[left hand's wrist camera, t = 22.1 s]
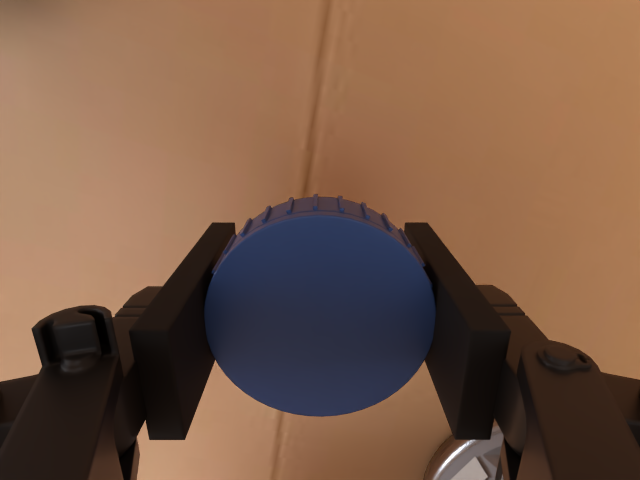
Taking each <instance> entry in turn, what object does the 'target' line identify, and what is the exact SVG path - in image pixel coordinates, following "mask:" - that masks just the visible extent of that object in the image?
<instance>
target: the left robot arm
mask: <svg viewBox="0 0 640 480" xmlns="http://www.w3.org/2000/svg"><path fill="white" fill-rule="evenodd" d="M404 233H405V235H406V237H407V238H408V240H409V242H410V244H411V245H412V246H414V247H415V249H416V250H417V252H418V254H419V256H420V257H421V259H422V261H423V262H424V264H425V266H424V267H423V268H424V270H425V272H426V274H427V275H428V277H429V279H430V281H431V283H432V285H433V287H432V290H433V294H434V297H435V305H436V316H435V326H434V334H433V340H432V344H431V347H430V350H429V352H428V354H427V356H426V358H425V362H426V365H427V368H428V370H429V373H430V376H431V378H432V381H433V383H434V386H435V389H436V391H437V394H438V397H439V399H440V402H441V404H442V407H443V410H444V412H445V415H446V418H447V420H448V423H449V426H450V428H451V431H452V433H453V435H452V436H450V437H449V438H448V439H447V440H446V441H445V442H444V443H443V444H442V445H441V446H440V448H439V449H438V450H437V451H436V453H435V454H434V456H433V457H432V459H431V461H430V463H429V465H428V467H427V469H426V472H425V475H424V480H640V380H637V379H632V378H627V377H622V376H617V375H612V374H607V373H603V372H601V371H600V369H599V368H598V366H597V365H596V363H595V362H594V361H593V360H592V359H591V357H589V356H588V355H586V354H585V353H583V352H582V351H580V350H579V349H576V348H574V347H572V346H569V345H567V344H564V343H560V342H556V341H552V340H548V339H547V337H546V336H545V335H544V334H543V333H542V332H541V331H540V330H539V329H538V327H537V326H536V325H535V324H534V323H533V322H532V321H531V320H530V318H529V317H528V316H525V313H524V312H523V311H522V310H521V308H520V307H517V304H516V303H515V302H514V301H513V299H512V298H511V297H510V296H509V295H508V294H507V293H505V292H503V291H501V290H500V289H498V288H496V287H495V286H493V285H475V283H474V282H473V281H472V280H471V278H470V277H469V276H468V274H467V273H466V272H465V271H464V269H463V268H462V267H461V265H460V264H459V263H458V262H457V260H456V259H455V258H454V256H453V255H452V254H451V253H450V251H449V250H448V249H447V247H446V246H445V245H444V244H443V242H442V241H441V240H440V238H439V237H438V236H437V235H436V233H435V232H434V231H433V229H432V228H431V227H430V226H429V224H428V223H405V229H404ZM234 234H235V235H236V233H235V223H212V224H211V225H210V226H209V228H208V229H207V230H206V232H205V233H204V234H203V235H202V237H201V238H200V239H199V241H198V242H197V243H196V244H195V246H194V247H193V248H192V250H191V251H190V252H189V253H188V255H187V256H186V257H185V259H184V260H183V261H182V263H181V264H180V265H179V266H178V268H177V269H176V270H175V272H174V273H173V274H172V275H171V277H170V278H169V279H168V281H167V282H166V283H165V284H164V286H148V287H146V288H144V289H143V290H141V291H139V292H137V293H136V294H134V295H132V296H131V298H130V299H129V300H128V301H127V302H126V303H125V304H124V305H123V308H121V309H120V310H119V311H118V312H117V313H116V314H115V317H113V318H112V315H111V311H110V310H108V309H107V308H105V307H101V306H96V305H87V306H77V307H73V308H68V309H64V310H61V311H59V312H56V313H53V314H51V315H49V316H47V317H46V318H44V319H42V320H40V321H39V322H38V323H37V324H36V325H35V326H34V327H33V328H32V332H33V336H34V339H35V342H36V346H37V349H38V353H39V356H40V360H41V363H42V368H41V370H40V372H39V374H37V375H33V376H28V377H23V378H17V379H12V380H7V381H2V382H0V480H137V473H138V465H139V457H140V453H139V446H138V441H137V435H138V433H139V431H140V429H141V427H142V425H143V423H144V422H145V420H146V425H147V430H148V435H149V440H185V438H186V435H187V433H188V430H189V428H190V425H191V422H192V420H193V417H194V414H195V412H196V409H197V406H198V404H199V401H200V399H201V396H202V393H203V391H204V388H205V385H206V383H207V380H208V377H209V375H210V372H211V370H212V367H213V364H214V362H215V358H214V356H213V354H212V352H211V349H210V346H209V344H208V341H207V336H206V329H205V319H204V305H205V298H206V294H207V290H208V287H209V284H210V282H211V280H212V277H213V275H214V274H212V270H213V269H214V267H215V265H216V263H217V262H218V260H219V258H220V256H221V255H222V253H223V251H224V250H225V248H226V246H227V245H228V243H229V241H230V239H231V238H232V236H233V235H234ZM412 246H411V247H412Z"/></svg>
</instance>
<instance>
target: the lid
mask: <svg viewBox="0 0 640 480" xmlns="http://www.w3.org/2000/svg"><path fill="white" fill-rule="evenodd" d="M411 246H412V245H411V244H410V242H409V240H408V238H407V237H406V235H405V233H404V231H403V230H402V229H401V228H400V229H399V230H398V229H397V228H396V227H395V226H394V225H393V224H392V223H391V222H389V220H388V218H387V216H386V215H385V214H384V213H383V214H382V215H380V214H378V213H377V212H375V211H374V210H372V209H370V208H368V207H367V206H366V203H363V202H362V203H361V204H358V203H355V202H352V201H348V200H344V199H343V198H342V196H338V198H333V197H318V194H314V196H313V197H309V198H301V199H296V200H294V198H293V197H292V198H289V201H288V202H285V203H282V204H279V205H277V206H274V207H272V208H271V206H268V207H267V208H266V210H265V212H263V213H261V214H260V215H258V216H257V217H256V218H254V219H253V220H252V219H251V218H249V219H248V220H247V222H246V224H245V226H244V228H243V229H242V230H241V231H240V232H239V234H238V235H237V236H236V235H235V234H234V235H233V236H232V238H231V239H230V241H229V243H228V245H227V246H226V248H225V250H224V251H223V253H222V255H221V256H220V258H219V260H218V262H217V263H216V265H215V267H214V269H213V270H212V274H214V275H213V277H212V280H211V282H210V284H209V287H208V290H207V294H206V298H205V305H204V319H205V329H206V336H207V341H208V344H209V346H210V349H211V352H212V354H213V356H214V358H215V360H216V361H217V363H218V365H219V366H220V368H221V369H222V370H223V372H224V373H225V374H226V376H227V377H228V378H229V379H230V380H231V381H232V382H233V383H234V384H235V385H236V386H237V387H239V388H240V389H241V390H242V391H243V392H245V393H246V394H248V395H249V396H251V397H252V398H254V399H255V400H257V401H259V402H261V403H263V404H265V405H267V406H269V407H272V408H275V409H278V410H280V411H284V412H288V413H292V414H297V415H304V416H321V417H323V416H336V415H342V414H348V413H352V412H356V411H359V410H363V409H365V408H368V407H370V406H373V405H375V404H377V403H379V402H381V401H383V400H384V399H386V398H388V397H389V396H391V395H392V394H394V393H395V392H397V391H398V390H399V389H400V388H401V387H403V386H404V385H405V384H406V383H407V382H408V381H409V380H410V379H411V378H412V377H413V375H414V374H415V373H416V372H417V371H418V369H419V368H420V366H421V365H422V363H423V362H424V360H425V358H426V356H427V354H428V352H429V350H430V347H431V344H432V340H433V334H434V326H435V316H436V305H435V297H434V294H433V290H432V287H433V285H432V283H431V281H430V279H429V277H428V275H427V274H426V272H425V270H424V268H423V267H424V266H425V264H424V262H423V261H422V259H421V257H420V256H419V254H418V252H417V250H416V249H415V247H414V246H412V247H411Z"/></svg>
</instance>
